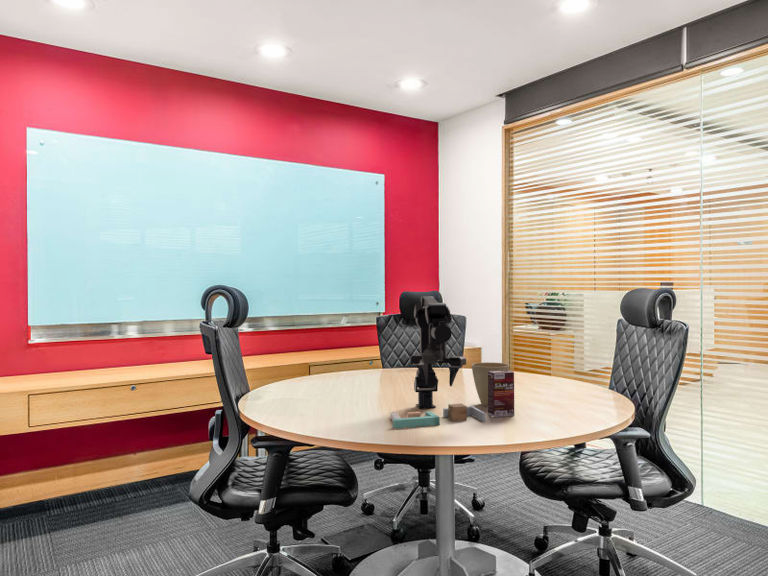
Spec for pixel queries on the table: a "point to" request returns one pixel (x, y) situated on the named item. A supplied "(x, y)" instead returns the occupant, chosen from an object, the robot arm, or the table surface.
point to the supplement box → (501, 393)
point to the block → (457, 412)
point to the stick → (394, 415)
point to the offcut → (413, 414)
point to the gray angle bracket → (469, 413)
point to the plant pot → (485, 377)
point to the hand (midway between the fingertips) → (438, 385)
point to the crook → (417, 421)
